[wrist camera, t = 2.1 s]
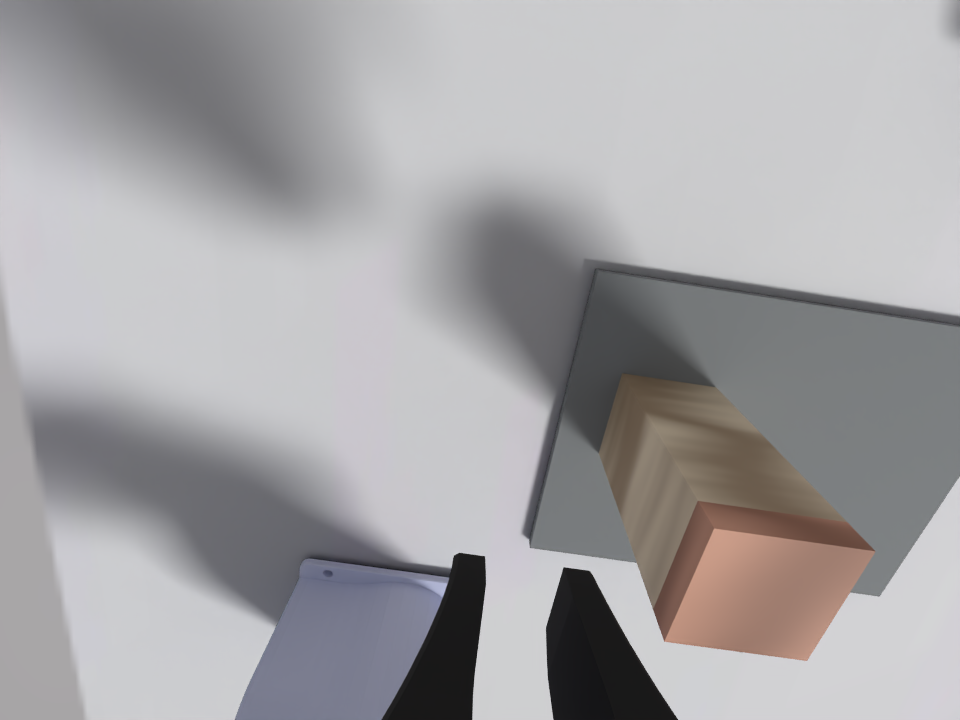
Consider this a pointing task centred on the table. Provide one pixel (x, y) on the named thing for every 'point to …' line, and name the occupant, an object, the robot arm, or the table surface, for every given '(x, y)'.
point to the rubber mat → (767, 405)
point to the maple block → (724, 523)
